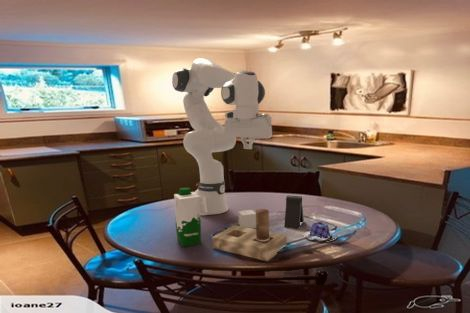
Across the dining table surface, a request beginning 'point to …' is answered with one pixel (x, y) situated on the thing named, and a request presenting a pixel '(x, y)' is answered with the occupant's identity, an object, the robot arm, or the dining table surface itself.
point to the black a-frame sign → (293, 212)
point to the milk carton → (187, 217)
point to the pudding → (319, 230)
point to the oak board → (248, 243)
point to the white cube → (247, 218)
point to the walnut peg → (262, 225)
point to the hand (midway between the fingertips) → (248, 148)
